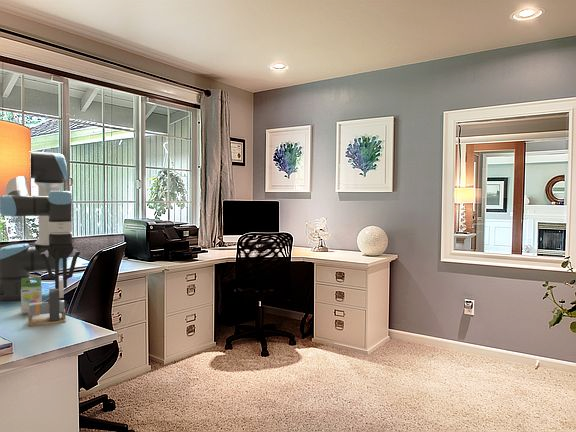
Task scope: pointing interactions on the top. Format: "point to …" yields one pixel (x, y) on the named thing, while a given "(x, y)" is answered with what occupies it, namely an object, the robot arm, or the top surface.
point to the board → (45, 320)
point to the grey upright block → (54, 304)
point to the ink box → (30, 293)
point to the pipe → (43, 307)
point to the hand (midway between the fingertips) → (61, 297)
